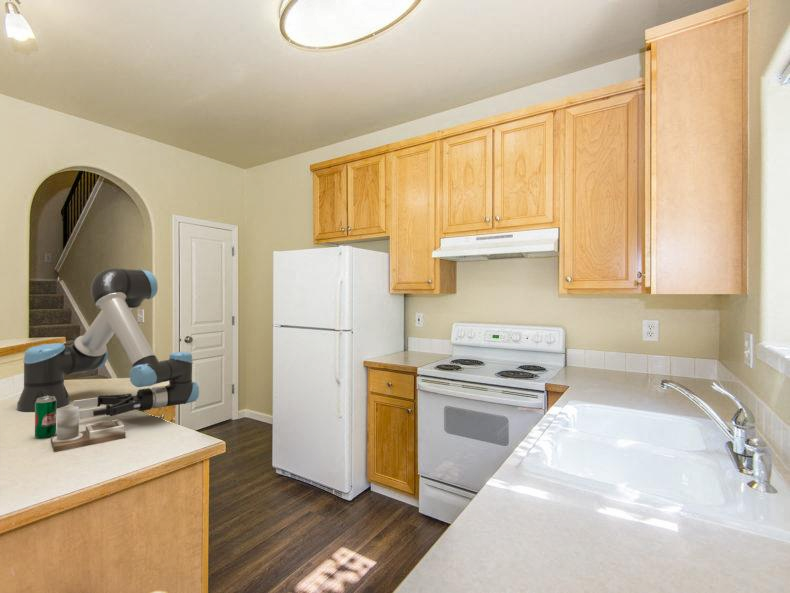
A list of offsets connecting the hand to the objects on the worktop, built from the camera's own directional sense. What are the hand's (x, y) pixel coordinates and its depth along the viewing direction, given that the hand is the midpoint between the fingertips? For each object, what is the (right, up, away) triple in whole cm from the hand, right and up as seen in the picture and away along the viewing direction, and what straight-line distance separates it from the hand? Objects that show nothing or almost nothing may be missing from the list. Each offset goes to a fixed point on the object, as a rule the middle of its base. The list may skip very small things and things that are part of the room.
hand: (76, 409), depth 129 cm
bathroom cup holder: (+9, -7, -7) cm, 14 cm away
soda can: (-6, -7, -5) cm, 10 cm away
